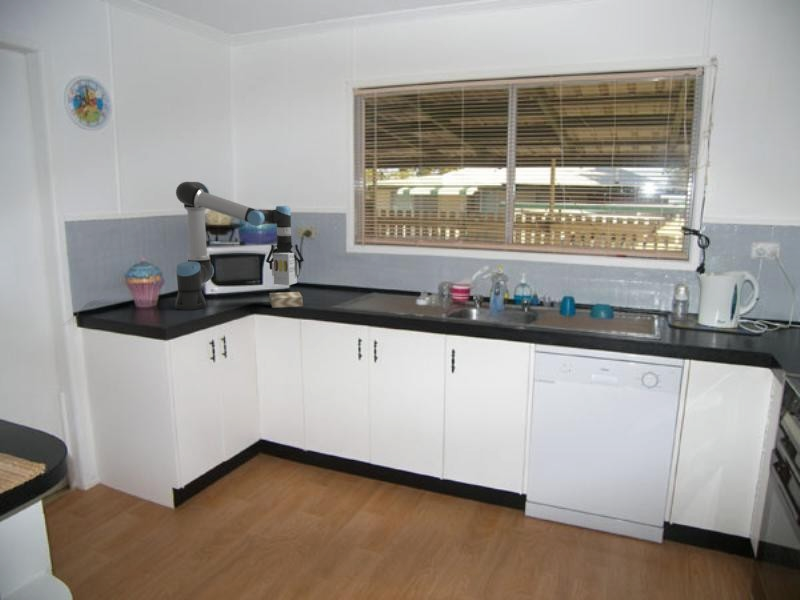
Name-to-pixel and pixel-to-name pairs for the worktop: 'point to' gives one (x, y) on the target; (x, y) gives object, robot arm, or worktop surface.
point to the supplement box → (285, 268)
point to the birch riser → (286, 299)
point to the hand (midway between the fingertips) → (285, 275)
